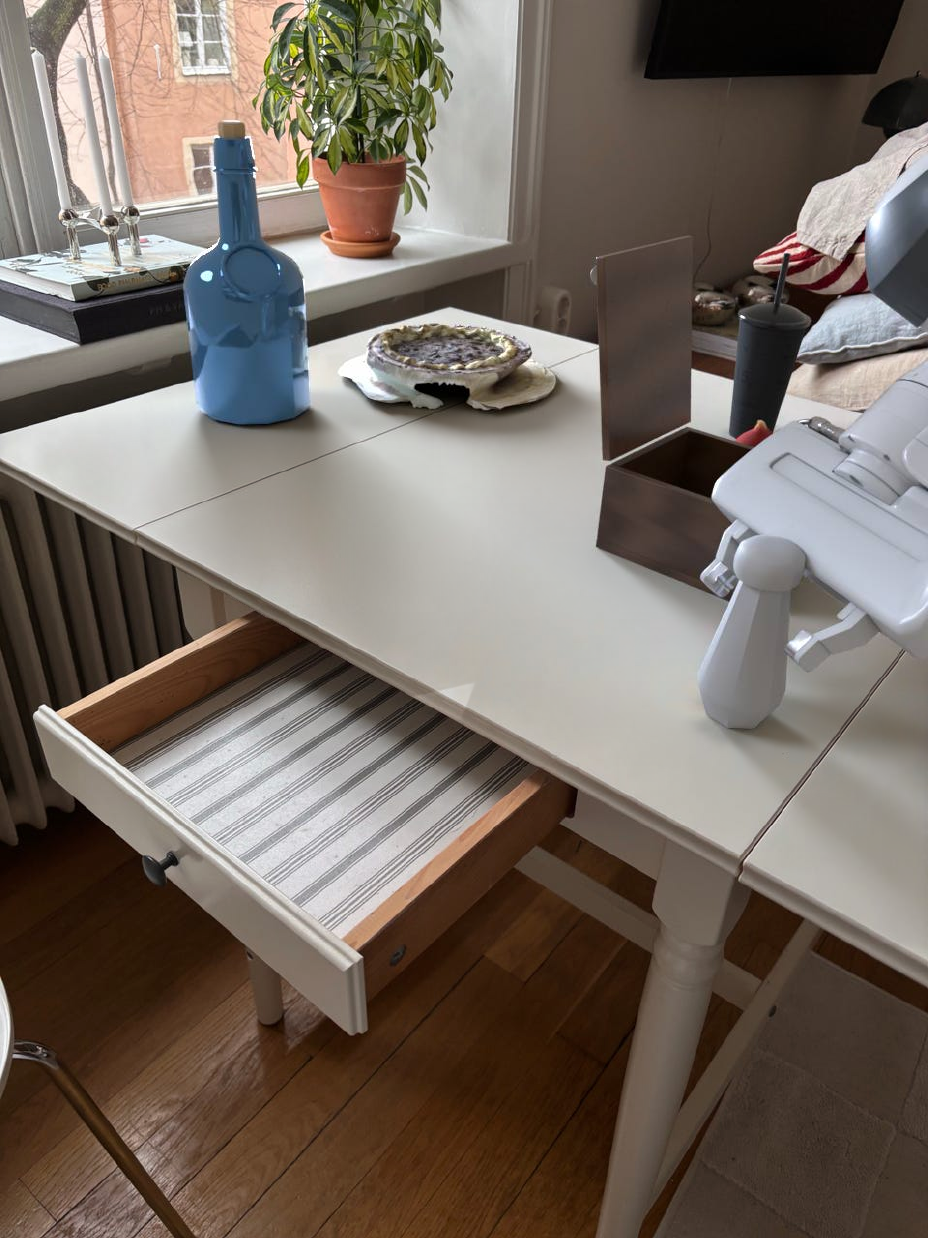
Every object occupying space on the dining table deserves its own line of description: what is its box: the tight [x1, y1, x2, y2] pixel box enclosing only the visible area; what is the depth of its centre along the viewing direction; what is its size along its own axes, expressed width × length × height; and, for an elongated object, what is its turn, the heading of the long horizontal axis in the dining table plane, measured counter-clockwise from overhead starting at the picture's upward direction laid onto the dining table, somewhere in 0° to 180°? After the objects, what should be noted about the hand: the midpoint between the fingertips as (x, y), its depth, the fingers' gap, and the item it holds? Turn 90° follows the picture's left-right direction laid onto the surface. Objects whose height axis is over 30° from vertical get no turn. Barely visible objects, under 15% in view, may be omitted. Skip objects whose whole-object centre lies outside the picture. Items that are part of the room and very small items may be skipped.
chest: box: [595, 426, 754, 602], centre depth 84 cm, size 16×14×8 cm
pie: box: [337, 322, 557, 411], centre depth 122 cm, size 28×27×5 cm
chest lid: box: [590, 235, 693, 462], centre depth 83 cm, size 16×14×4 cm
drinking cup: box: [728, 252, 812, 440], centre depth 105 cm, size 8×8×20 cm
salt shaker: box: [696, 535, 806, 730], centre depth 63 cm, size 6×6×13 cm
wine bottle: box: [182, 119, 311, 425], centre depth 104 cm, size 14×13×30 cm
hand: (749, 623), depth 62 cm, fingers open, 8 cm apart
